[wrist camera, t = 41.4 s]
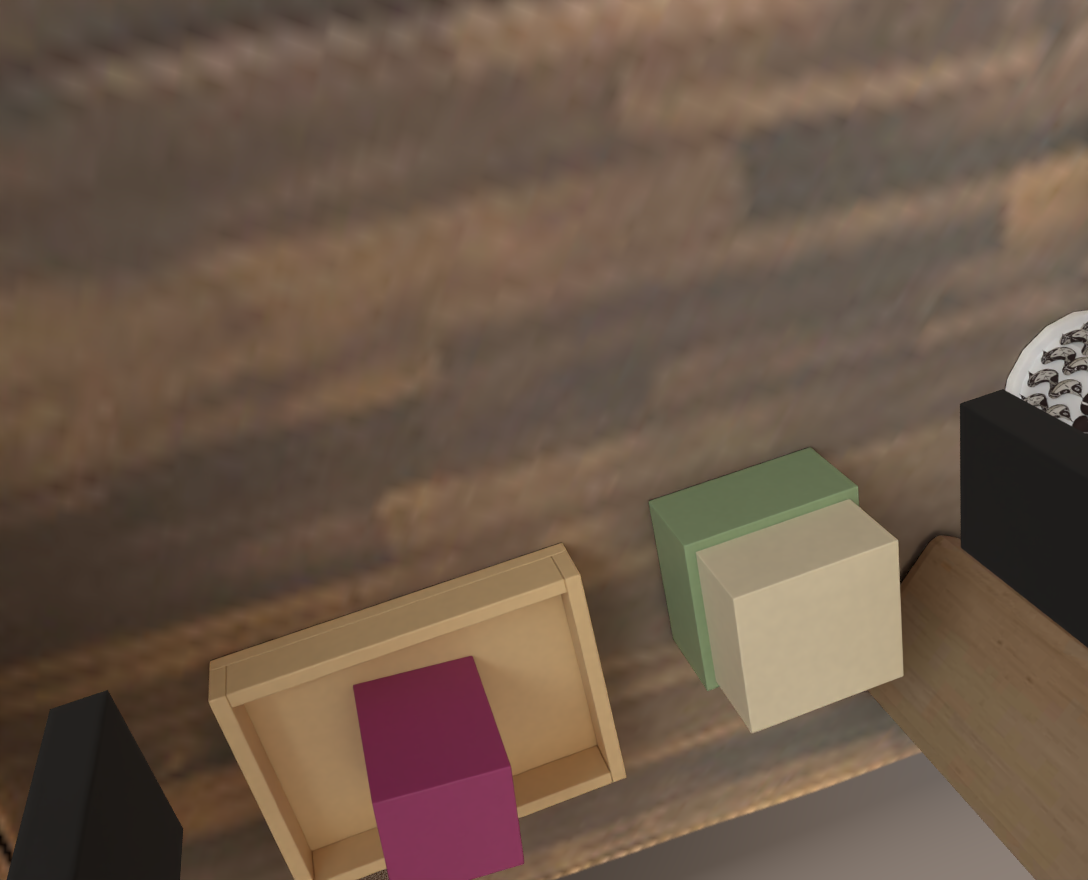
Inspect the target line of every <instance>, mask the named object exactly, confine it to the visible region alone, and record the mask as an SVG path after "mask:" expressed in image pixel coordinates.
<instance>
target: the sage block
mask: <svg viewBox="0 0 1088 880" xmlns="http://www.w3.org/2000/svg"><path fill="white" fill-rule="evenodd" d="M847 499H850V500H852V501H853V502H854V503H855V504H856V505H857V506H859V495H858V486H857V485H856V484H855V483H853V482H852V481H851V480H850V479H848V478H847V477H846V476H845V475H844V474H842V473H841V472H840V471H839V470H837V469H836V468H835V467H834V466H833V465H831V464H830V463H829V462H828V461H826V460H825V459H824V458H823V457H822V456H820V455H819V454H818V453H817V452H816V451H814V450H813V449H812V448H810V447H809V448H806V449H803V450H800V451H797V452H794V453H791V454H788V455H785V456H782V457H779V458H776V459H773V460H770V461H767V462H764V463H762V464H759V465H756V466H753V467H750V468H747V469H744V470H741V471H738V472H735V473H732V474H729V475H726V476H723V477H720V478H717V479H714V480H711V481H708V482H705V483H702V484H699V485H696V486H693V487H690V488H687V489H684V490H681V491H678V492H675V493H672V494H669V495H666V496H663V497H660V498H657V499H654V500H651V501H649V507H650V513H651V518H652V524H653V530H654V535H655V541H656V546H657V552H658V557H659V563H660V568H661V574H662V579H663V585H664V591H665V596H666V602H667V607H668V613H669V618H670V624H671V629H672V635H673V640H674V641H675V643H676V644H677V646H678V647H679V649H680V650H681V652H682V653H683V655H684V656H685V658H686V659H687V661H688V662H689V664H690V665H691V667H692V668H693V670H694V671H695V673H696V674H697V676H698V677H699V679H700V680H701V682H702V683H703V685H704V687H705V688H706V690H707V691H709V690H712V689H715V688H717V687H720V686H719V685H718V683H717V682H716V679H715V672H714V666H713V660H712V653H711V647H710V641H709V634H708V628H707V622H706V615H705V609H704V603H703V596H702V590H701V584H700V577H699V571H698V565H697V558H696V552H697V551H700V550H703V549H706V548H709V547H712V546H715V545H717V544H720V543H723V542H726V541H729V540H732V539H735V538H738V537H741V536H743V535H746V534H749V533H752V532H755V531H758V530H761V529H764V528H767V527H769V526H772V525H775V524H778V523H781V522H784V521H787V520H790V519H793V518H795V517H798V516H801V515H804V514H807V513H810V512H813V511H816V510H819V509H821V508H824V507H827V506H830V505H833V504H836V503H839V502H842V501H845V500H847Z"/></svg>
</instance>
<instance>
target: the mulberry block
mask: <svg viewBox="0 0 1088 880" xmlns="http://www.w3.org/2000/svg"><path fill="white" fill-rule="evenodd" d="M353 691H354V697H355V703H356V709H357V715H358V721H359V727H360V733H361V739H362V746H363V752H364V758H365V764H366V770H367V776H368V782H369V788H370V794H371V800H372V806H373V810H374V815H375V819H376V824H377V828H378V833H379V837H380V841H381V846H382V850H383V855H384V859H385V863H386V868H387V872H388V877H389V880H471V879H475V878H478V877H481V876H485V875H488V874H492V873H495V872H498V871H502V870H505V869H508V868H512V867H515V866H519V865H522V864H524V856H523V849H522V842H521V834H520V827H519V820H518V813H517V805H516V798H515V791H514V783H513V776H512V769H511V764H510V762H509V759H508V756H507V753H506V750H505V747H504V744H503V741H502V739H501V736H500V733H499V730H498V727H497V724H496V721H495V718H494V716H493V713H492V710H491V707H490V704H489V701H488V698H487V696H486V693H485V690H484V687H483V684H482V681H481V678H480V675H479V673H478V670H477V667H476V664H475V661H474V658H473V656H468V657H464V658H460V659H456V660H452V661H448V662H444V663H440V664H436V665H432V666H428V667H424V668H420V669H416V670H412V671H408V672H403V673H399V674H395V675H391V676H387V677H383V678H379V679H375V680H371V681H367V682H363V683H359V684H355V685H353Z"/></svg>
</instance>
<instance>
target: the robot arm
mask: <svg viewBox="0 0 1088 880" xmlns="http://www.w3.org/2000/svg"><path fill="white" fill-rule="evenodd" d="M960 489H961V548H962V549H963V550H964V551H966V552H967V553H968V554H969V555H971V556H972V557H973V558H974V559H976V560H977V561H978V562H980V563H981V564H982V565H983V566H985V567H986V568H987V569H988V570H990V571H991V572H992V573H993V574H995V575H996V576H997V577H999V578H1000V579H1001V580H1002V581H1004V582H1005V583H1006V584H1007V585H1009V586H1010V587H1011V588H1013V589H1014V590H1015V591H1016V592H1018V593H1019V594H1020V595H1021V596H1023V597H1024V598H1025V599H1026V600H1028V601H1029V602H1030V603H1032V604H1033V605H1034V606H1035V607H1037V608H1038V609H1039V610H1040V611H1042V612H1043V613H1044V614H1046V615H1047V616H1048V617H1049V618H1051V619H1052V620H1053V621H1054V622H1056V623H1057V624H1058V625H1059V626H1061V627H1062V628H1063V629H1065V630H1066V631H1067V632H1068V633H1070V634H1071V635H1072V636H1073V637H1075V638H1076V639H1077V640H1079V641H1080V642H1081V643H1082V644H1084V645H1085V646H1086V647H1087V648H1088V435H1087V434H1085V433H1084V432H1082V431H1080V430H1078V429H1076V428H1074V427H1072V426H1070V425H1069V424H1067V423H1065V422H1063V421H1061V420H1059V419H1057V418H1056V417H1054V416H1052V415H1050V414H1048V413H1046V412H1044V411H1043V410H1041V409H1039V408H1037V407H1035V406H1033V405H1031V404H1030V403H1028V402H1026V401H1024V400H1022V399H1020V398H1018V397H1017V396H1015V395H1013V394H1011V393H1009V392H1007V391H1005V390H1003V389H1002V390H999V391H996V392H993V393H991V394H988V395H985V396H982V397H979V398H976V399H973V400H970V401H967V402H964V403H961V404H960ZM182 839H183V827H182V826H181V824H180V822H179V820H178V818H177V816H176V815H175V813H174V811H173V809H172V807H171V805H170V804H169V802H168V800H167V798H166V796H165V794H164V793H163V791H162V789H161V787H160V785H159V783H158V782H157V780H156V778H155V776H154V774H153V772H152V771H151V769H150V767H149V765H148V763H147V761H146V760H145V758H144V756H143V754H142V752H141V750H140V749H139V747H138V745H137V743H136V741H135V739H134V737H133V736H132V734H131V732H130V730H129V728H128V726H127V725H126V723H125V721H124V719H123V717H122V715H121V714H120V712H119V710H118V708H117V706H116V704H115V703H114V701H113V699H112V697H111V695H110V693H109V692H108V690H106V691H103V692H100V693H97V694H95V695H92V696H89V697H86V698H83V699H80V700H77V701H74V702H71V703H68V704H65V705H62V706H59V707H56V708H53V709H50V711H49V715H48V719H47V723H46V727H45V731H44V735H43V739H42V743H41V747H40V751H39V755H38V759H37V762H36V766H35V770H34V774H33V778H32V782H31V786H30V790H29V794H28V798H27V802H26V806H25V810H24V813H23V817H22V821H21V825H20V829H19V833H18V837H17V841H16V845H15V849H14V853H13V857H12V861H11V865H10V868H9V872H8V876H7V880H180V871H181V855H182Z"/></svg>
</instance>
